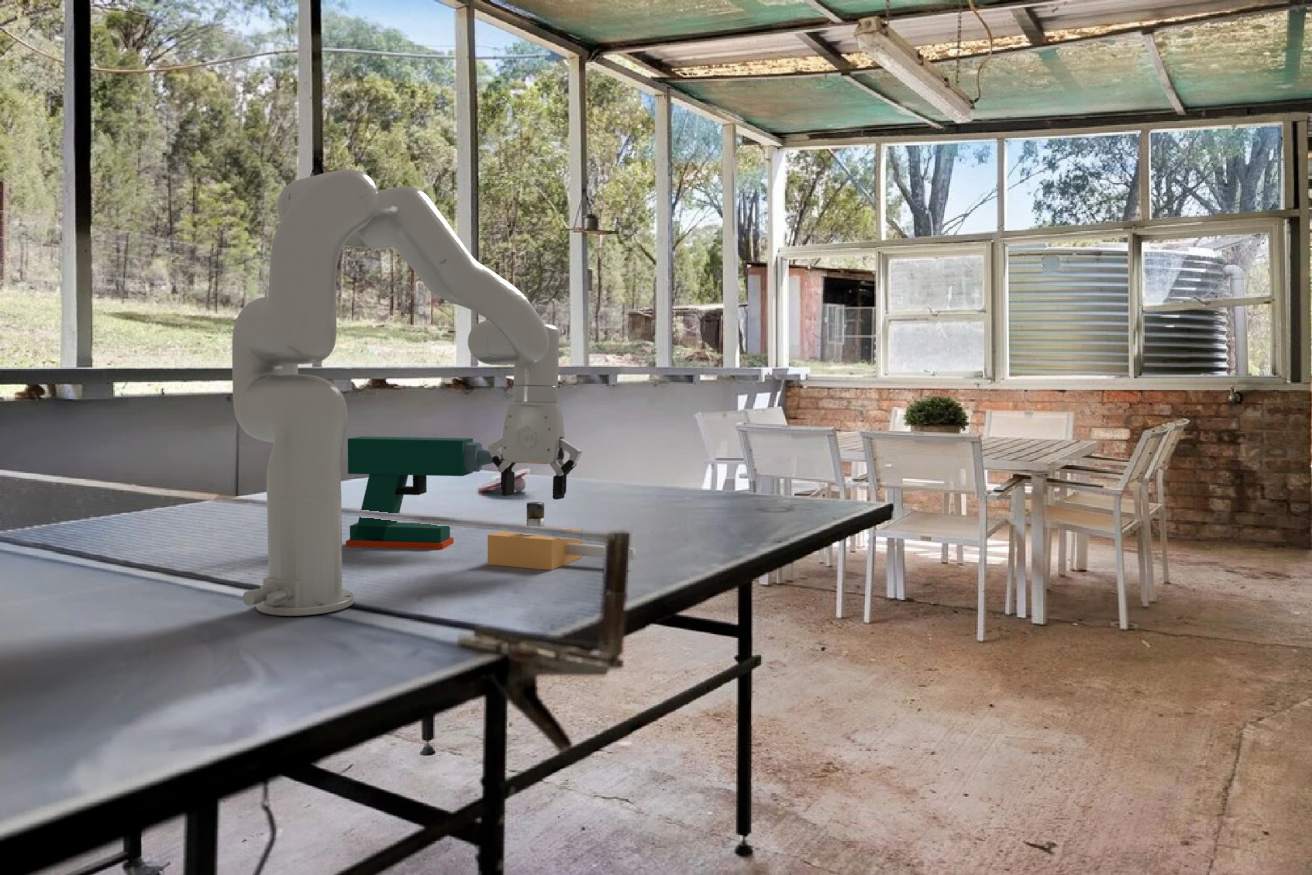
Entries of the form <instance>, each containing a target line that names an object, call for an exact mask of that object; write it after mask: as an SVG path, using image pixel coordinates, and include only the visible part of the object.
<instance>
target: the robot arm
mask: <svg viewBox="0 0 1312 875" xmlns="http://www.w3.org/2000/svg"><path fill="white" fill-rule="evenodd" d="M276 207H277V208H276V210H277V215H278V217H279V220H280V222H279V224H278V226H277V228H276V230H275V232H274V233H275V234H274V236H273V240H272V244H271V249H270V255H269V256H270V257H269V258H270V259H269V272H268V295H267V296H263V297H259V298H255V299H253V300H252V301H250V302H248V303H247V304H246V305H245V306H244V307H243V308H242V309H241V311H240V312H239V313H238V315H237V317H236V320H235V322H234V326H233V328H232V329H233V330H232V339H231V342H232V343H231V344H232V345H231V349H232V350H231V353H232V354H231V356H232V357H231V358H232V365H231V366H232V367H231V368H232V375H231V376H232V404H233V405H232V406H233V412H234V415H235V419H236V421H237V424H238V426H240V428H241V430H242V431H244V433H245V434H247V435H248V436H249V437H251V438H254V439H255V440H258V441H262V442H267V443H273V445H272V449H271V452H270V456H269V460H268V464H267V470H266V514H267V515H266V516H267V519H266V520H267V524H266V525H267V526H266V527H267V569H268V570H267V574H268V576H267V577H262V579H263V580H262V583H263V584H262V585H261V586H260V588H254V589H250V590H247V591H244V593H243V595H242V602H243V603H244V604H245V606H247V607H250V606H255V608H256V611H259V612H260V613H261V614H265V615H272V616H284V617H294V616H295V617H298V616H299V617H300V616H301V617H302V616H311V615H313V616H315V615H319V614H321V615H322V614H327V613H333V612H338V611H342V610H345V609H346V608H348V607H350V606H352V605H353V604H354V602H355V594H354V593H353V592H352V591H350V590H348V589H343V540H342V537H343V536H342V535H343V532H342V530H343V529H342V525H343V524H342V523H343V522H342V518H343V517H342V457H343V456H342V455H343V446H344V440H345V436H346V430H347V425H348V424H347V423H348V408H347V402H346V400H345V397H344V395H343V393H342V391H341V390H340V389H339V387H337V386H336V385H335V383H333V382H331V381H330V380H328V379H326V378H323V377H321V376H317V375H312V374H299V365H311V364H316V363H319V362H322V361H323V360H325V359H327V358H328V357H329V356H330V355H331V354H332V353H333V351H334V348H335V347H336V340H337V329H338V328H337V276H338V275H337V274H338V273H337V272H338V263H339V258H340V254H341V252H342V250H343V248H344V246H345V247H353V248H362V249H373V250H375V249H376V250H377V249H385V248H392V247H393V248H395V250H397V252H398V253H399V254H400V256H402V258H403V259H404V260H405V261H406V263H407V265H409V266H410V268H411V269H412V270H413V271H414V273H415V274H416V276H417V277H418V278H419V279H420V282H422V283H423V284H424V286H425V287H426V289H427V290H428V291H429V292H430V293H431V294H432V295H434V296H436V297H438V298H440V299H442V300H444V301H446V302H449V303H451V304H453V305H457V306H459V307H463V308H466V309H468V310H470V311H472V312H475V313H476V314H479V315H480V316H482V317H483V318H485V319H486V320H484V321H481V322H478V323H477V324H475V325H474V326H473V327H472V328H471V330H470V331H469V333H468V337H467V347H468V350H469V352H470V354H471V355H472V356H473V357H474V359H475V360H477V361H479V362H480V363H483V364H485V365H489V366H507V365H510V366H513V385H512V388H511V389H507V390H506V396H507V397H508V398H511V399H512V400H511V401H512V403H510V404H509V403H508V406H507V410H506V413H505V418H504V424H503V430H502V438H501V439H499V440H497V441H496V442H493V443H492V444H490V445H488V447H487V450H488V451H489V452H490V455H491V457H492V461H493V462H494V463H493V464H494V465H495V466H496V467H497V471H498V472H499V473H500V490H501V495H502V496H505V497H507V496H512V495H514V494H515V478H516V477H515V476H516V475H515V471H513V469H514V468H515V466H516V465H517V464H533V465H550V467H551V468H552V470H553V471H554V473H555V475H554V476H553V477H552V499H553V500H561V499H564V498H565V495H566V494H567V477H568V476H569V475H570V473H571V471H573V469H574V468H575V467H576V466H577V463H578V462H579V460H580V458H581V456H582V454H583V451H582V450H581V449H580V448H578V447H577V446H575V445H573V444H572V443H571V442H569V441H567V440H566V438H565V437H566V436H565V424H564V418H563V417H564V416H563V411H562V406H561V405H558V400H559V399H558V398H559V365H560V364H559V361H560V355H559V354H560V332H559V329H558V328H557V327H556V326H555V325H552V324H549V323H544V321H543V320H542V318H541V316H540V314H538V312H537V311H536V309H535V307H534V306H533V305H532V304H531V302H530V301H529V300H528V298H527V297H526V296H525V295H524V294H523V293H522V292H521V291H520V290H519V289H518V288H517V287H516V286H514V285H512V284H511V283H510V282H509V281H508V280H506V279H504V278H503V277H501V276H500V275H499V274H497V273H495V271H493V270H491V269H490V268H488V267H487V266H485V265H483V264H481V263H480V262H479V261H478V260H476V258H474V256H473V255H472V254H471V253H470V251H469V250H468V248H467V247H466V246H465V245H464V243H463V241H462V240H461V239H460V238H459V236H458V235H457V233H455V232H456V231H454V229H453V228H452V226H451V225H450V224H449V223H448V221H447V220H446V219H445V216H443V214H442V213H441V212H440V211H439V209H438V207H437V206H436V205H435V204H434V202H433V201H432V199H431V198H430V197H429V196H428V195H427V194H426V193H425V192H424V191H422V190H421V189H419V188H417V187H414V186H396V187H390V188H386V189H380V190H378V188H377V185H376V183H375V182H374V180H373V179H372V178H371V177H370V176H369V175H367V174H366V173H364V172H362V171H359V170H356V169H347V168H346V169H345V168H344V169H337V170H333V171H328V172H324V173H320V174H317V175H312V176H308V177H303V178H300V179H297V180H294V181H291V182H290V183H288V184H287V185H286V186H285V187H283V189H282V190H281V192H280V193H279V195H278V199H277V205H276ZM500 451H501V452H500ZM565 452H567V453H568V454H569V457H568V460H567V461H566V462H564V459H565V454H566V453H565ZM500 453H501V454H502V456H501V455H500ZM567 475H568V476H567Z"/></svg>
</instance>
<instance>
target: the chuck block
mask: <svg viewBox="0 0 1312 875" xmlns="http://www.w3.org/2000/svg"><path fill="white" fill-rule="evenodd" d="M521 525H522V526H527V524H521ZM544 527H546V526H545V525H544ZM552 527H553V528H560V526H559V527H557V526H556V527H555V526H552ZM561 528H562V529H572V530H583V528H571V527H561ZM605 546H606V545H597V544H585V543H583V541H578V540H573V539H560V538H552V537H544V536H538V535H523V534H518V533H510V532H504V531H503V530H500V531H497V532H493V533H489V534H487V565H489V566H490V565H491V566H502V567H503V566H504V567H512V568H525V569H536V570H545V571H547V570H549V571H553V570H555V569H557V568H558V569H559V568H560V567H563V566H565V565H567V564H570V563H572V562H574V561H577V560H579V559H582V558H583V557H589V558H600V559H601V558H603V559H605V558H604V556H605ZM629 548H630V552H629V560H628V561H634V560H635V558H636V548H633V547H629Z"/></svg>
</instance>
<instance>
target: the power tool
mask: <svg viewBox="0 0 1312 875" xmlns="http://www.w3.org/2000/svg"><path fill="white" fill-rule="evenodd" d="M482 445H483V444H482V443H481V442H474V437H473V438H472V437H471V438H468V437H425V436H424V437H423V436H421V437H420V436H419V437H416V436H414V437H413V436H407V437H406V436H365V435H364V436H357V437H351V438H350V437H349V438H347V474H349V475H368V477H367V478H368V479H367V483H366V486H365V492H364V495H363V500H362V504H361V508H360V511H361V510H369V511H379V512H388V513H399V514H400V512H401V508H402V503H403V498H404V496H407V495H408V496H420V495H423V494H425V493H427V490H428V488H427V486H428V485H427V480H428V478H427V476H432V477H433V476H434V477H435V476H436V477H440V476H441V477H442V476H443V477H464V476H467V475H470V474H473V473H474V472H477V473H480V471H481V470H482V468H483V466H485V465H486V466H487V465H492V464H494V462H493V461H492V457H491V455H490V452H489V450H488V449H484V448H483V446H482ZM500 455H501V456H502V452H500ZM409 476H412V486H410V485H407V482H408V478H409ZM421 523H422V522H398V521H391V520H381V519H374V518H361V517H359V516H358V521H357V523H354V524H352V525H349V539H347V540H345V547H349V548H378V549H379V548H381V549H382V548H383V549H385V548H388V549H416V550H418V549H419V550H420V549H421V550H423V549H424V550H444V549H446V548H448V547H450V546H451V545H453V544H454V539H455V538H454V537H451V526H450V527H449V526H437V525H431V524H421Z"/></svg>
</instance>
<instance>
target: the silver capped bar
mask: <svg viewBox="0 0 1312 875" xmlns="http://www.w3.org/2000/svg"><path fill="white" fill-rule="evenodd" d="M526 525H527V526H538V527H544V526H545V502H541V501H530V502H527V503H526Z"/></svg>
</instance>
